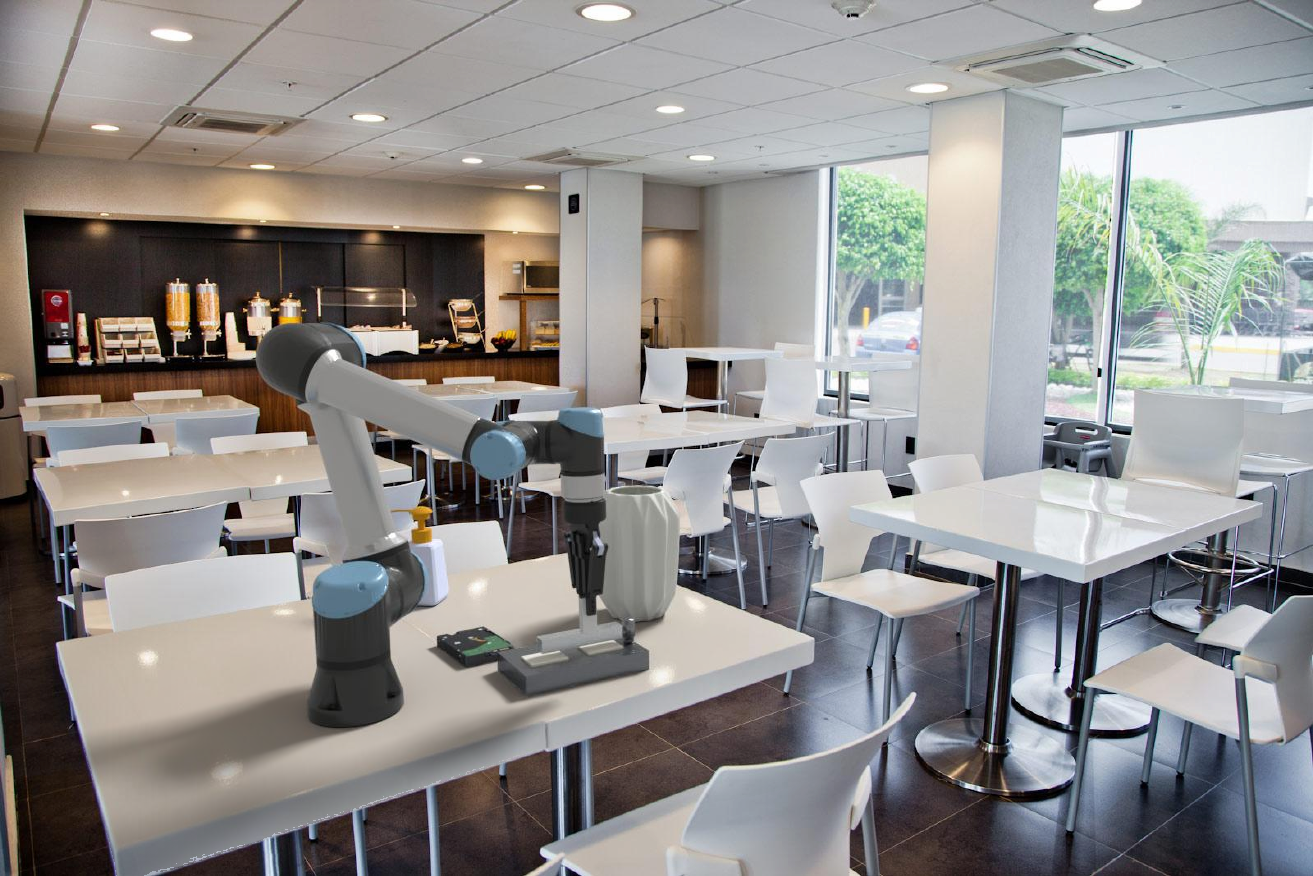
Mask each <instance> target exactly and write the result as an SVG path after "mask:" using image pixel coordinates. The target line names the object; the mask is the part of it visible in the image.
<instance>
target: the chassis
mask: <svg viewBox="0 0 1313 876" xmlns="http://www.w3.org/2000/svg"><path fill="white" fill-rule="evenodd" d="M614 641H615V642H617V643H619V644H620V645H622V646H623V649H618V650H613V651H609V652H604V653H599V654H594V655H587V654H586V653H584V652H583V651H582V650H580V649H579V648H577V647H576V648H571V649H566V650H561V651H560V652H562V653H563V654H564V655H566V656H567V657H568V658H569V660H565V661H560V662H555V663H550V664H545V665H541V666H536V667H531V666H530V665H528V664H527V663H526V662H525V661H524V660H522V659H521V656H526V655H531V654H536V653H540V652H539V651H537V643H536V644H532V645H527V646H522V647H516V648H515V647H514V648H515V649H510V650H505V651H500V652H497V659H498V661H497V671H498V672H499V673H500V674H501V675H503V676H504V677H505V678H506V680H508V681H509V682H510V683H511V684H512V685H513V686H514V687H516V688H517V689H518V690H519V691H520V692H522V694H523V695H524V696H525V697H529V696H530V697H531V696H534V695H538V694H544V693H548V692H551V691H556V690H557V691H558V690H561V689H566V688H570V687H574V686H579V685H583V684H587V683H593V682H598V681H602V680H605V679H611V678H615V677H620V676H624V675H629V674H633V673H638V672H643V671H646V670H650V650H649V649H647V648H646V647H644V646H642V645H641V644H639V643H637V642H636V641H635V637H633V638H624V637H622V638H621V639H616V640H614Z"/></svg>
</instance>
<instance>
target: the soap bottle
mask: <svg viewBox="0 0 1313 876" xmlns="http://www.w3.org/2000/svg"><path fill="white" fill-rule="evenodd" d="M390 511H391V514H392V513H397V512H398V513H399V512H400V513H402V512H407V513H408V514H409V515H412V520H413V521H417V527H415V528H412V529H411V532H410V534H411V540H408V542H409V546H410V549H411V551H412V552H413V553H414V554H415V555H418V556H419V557H420V558H421V560H422V561H423V563H424V565H425V567H426V570H427V574H428V585H427V590H426V593H425V595H424V597H423V599H422V600H421V601H420V602H419V604H418V605H417V606H426V607H427V606H429V607H430V606H431V607H433V606H436V605H438V604H439V603H441V602H442V601H443V600H445V599H446V598H447V597H448V596H449V594H450V587H449V581H448V573H447V572H448V571H447V564H446V557H445V551H444V544H443V540H442V539H439V538H433V529H432V528H431V527H426V522H425V520H428V519H431V518H430V517H431V516H430V514H432V513H433V510H432V509H431V508H429V507H427V506H423V505H421V506H416V507H413V508H412V509H393V510H391V509H390Z"/></svg>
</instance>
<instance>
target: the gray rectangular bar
mask: <svg viewBox="0 0 1313 876" xmlns="http://www.w3.org/2000/svg"><path fill="white" fill-rule="evenodd" d="M635 627H636V622H635V618H633V617H624V618H622V620H621V623H620V622H617V621H612V622H606V623H600V624H597V630H598V632H593V633H588V634H582V633H580V627H579V628H573V629H568V630H564V631H560V632H559V631H557V632H553V633H548V634H543V635H537V636H535V637H536V639H535V640H536V644H537V651H539V652H540V653H541V654H546V653H551V652H556V651H561V650H566V649H571V648H576V647H581V646H586V645H591V644H596V643H601V642H606V641H611V640H616V639H621V638H622V637H624V638H633V637H634V638H635V637H636V628H635Z"/></svg>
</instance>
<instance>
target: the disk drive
mask: <svg viewBox="0 0 1313 876" xmlns="http://www.w3.org/2000/svg"><path fill="white" fill-rule="evenodd" d="M436 647H437V648H438V649H440V650H441V651H443V652H444V653H446V654H447V655H448V656H450V657H451V658H452V659H454V660H455V661H456V662H458V663H459V664H460V665H462V666H463V667H464V668H465V669H466V668H467V669H468V668H473V667H476V666H481V665H485V664H491V663H493V662H498V659H497V652H500V651H505V650H510V649H515V647H514V645H513V644H512V643H511V642H510V641H508V640H506V639H505V638H503V637H502V636H500V635H499V634H497V633H496V632H494V631H492V630H490V629H489V628H487V627H485V626H479V627H475V628H471V629H469V628H468V629H463V630H459V631H458V630H457V632H455V633H454V634H450V633H445V634H444V633H443V634H440V635H436Z"/></svg>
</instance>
